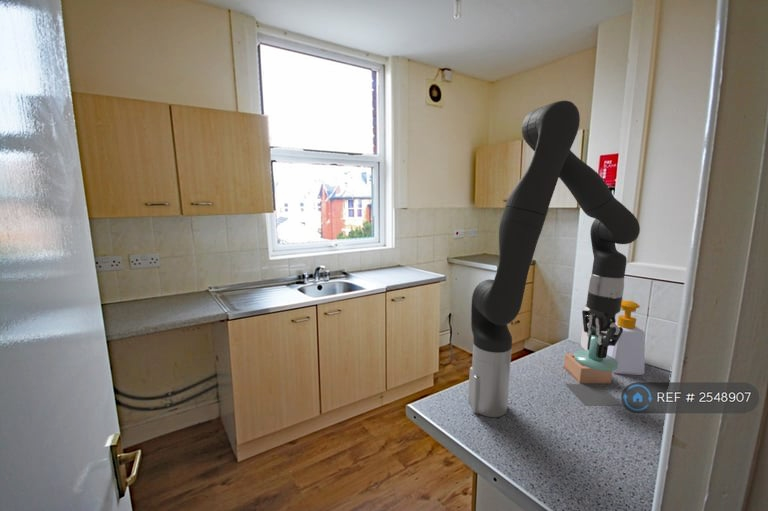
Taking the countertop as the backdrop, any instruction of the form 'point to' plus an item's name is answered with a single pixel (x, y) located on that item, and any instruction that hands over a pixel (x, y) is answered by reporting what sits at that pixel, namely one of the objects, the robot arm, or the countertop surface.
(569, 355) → the dish
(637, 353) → the soap bottle
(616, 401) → the mat
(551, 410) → the countertop surface
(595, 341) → the lid
